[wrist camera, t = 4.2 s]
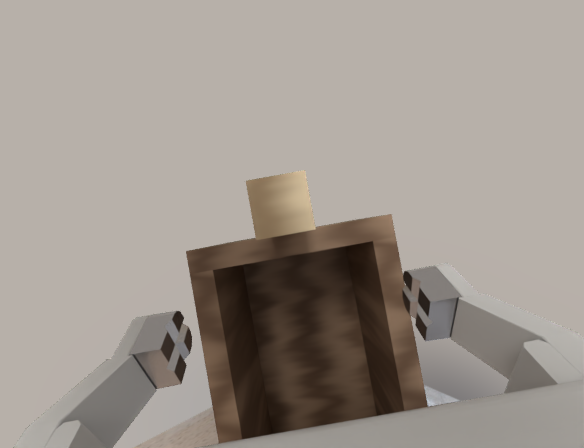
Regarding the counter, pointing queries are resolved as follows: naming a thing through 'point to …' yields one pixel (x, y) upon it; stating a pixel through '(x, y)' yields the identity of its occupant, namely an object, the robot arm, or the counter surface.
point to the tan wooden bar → (280, 205)
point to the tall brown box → (305, 329)
